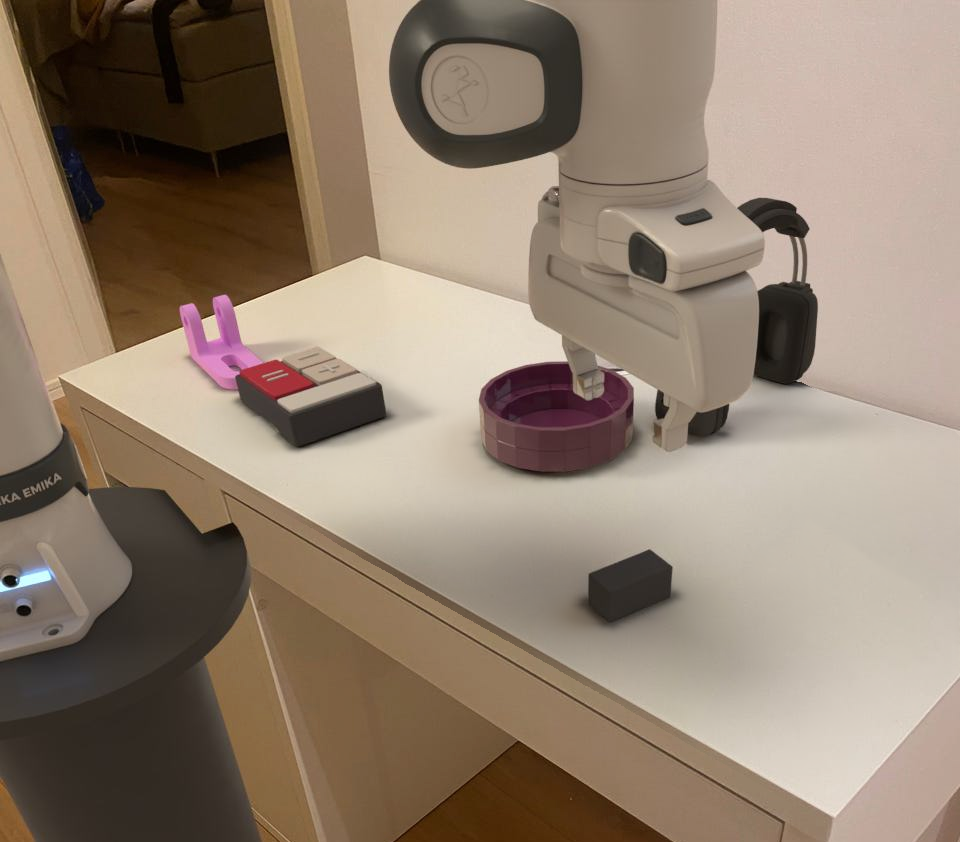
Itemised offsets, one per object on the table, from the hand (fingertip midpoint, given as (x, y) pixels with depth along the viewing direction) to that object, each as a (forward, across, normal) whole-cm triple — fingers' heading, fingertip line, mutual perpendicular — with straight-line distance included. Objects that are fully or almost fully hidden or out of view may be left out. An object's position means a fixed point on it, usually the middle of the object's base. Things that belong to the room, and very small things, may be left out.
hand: (627, 419), depth 69 cm
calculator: (+16, -48, -8) cm, 51 cm away
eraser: (+16, 0, 0) cm, 16 cm away
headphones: (+17, -22, +30) cm, 41 cm away
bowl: (+16, -26, +10) cm, 32 cm away
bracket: (+16, -64, -12) cm, 67 cm away
